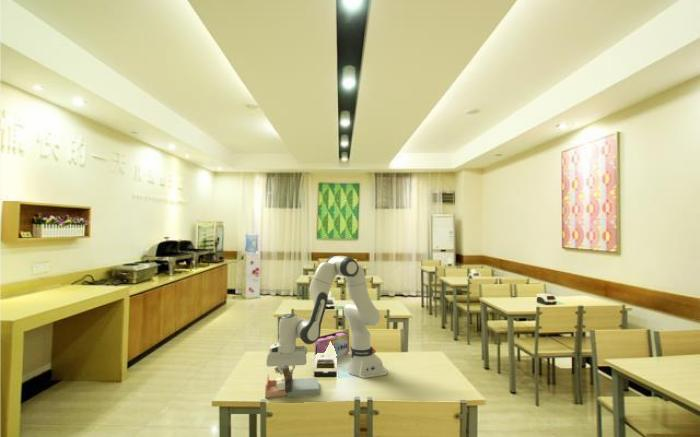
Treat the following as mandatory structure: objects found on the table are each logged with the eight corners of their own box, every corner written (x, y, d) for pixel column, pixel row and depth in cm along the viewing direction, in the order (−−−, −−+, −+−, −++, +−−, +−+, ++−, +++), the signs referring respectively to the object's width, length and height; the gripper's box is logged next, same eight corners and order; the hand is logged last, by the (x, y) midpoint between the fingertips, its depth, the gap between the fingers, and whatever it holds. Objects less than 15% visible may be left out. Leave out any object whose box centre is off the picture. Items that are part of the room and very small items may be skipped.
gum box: (320, 363, 212) (320, 341, 212) (312, 359, 218) (312, 338, 218) (348, 354, 228) (348, 333, 229) (340, 351, 234) (341, 331, 234)
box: (286, 384, 181) (286, 373, 181) (286, 396, 168) (286, 384, 169) (267, 385, 180) (267, 374, 180) (265, 398, 167) (265, 385, 167)
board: (317, 383, 184) (317, 377, 184) (319, 394, 171) (319, 388, 171) (287, 384, 181) (287, 379, 181) (286, 396, 168) (286, 390, 169)
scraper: (292, 375, 184) (288, 360, 184) (292, 391, 166) (288, 374, 166) (286, 377, 184) (283, 362, 183) (286, 393, 166) (281, 376, 166)
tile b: (285, 386, 173) (285, 380, 173) (285, 389, 169) (284, 382, 169) (277, 387, 172) (277, 381, 172) (277, 390, 168) (276, 384, 169)
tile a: (281, 377, 180) (276, 377, 180) (281, 380, 176) (275, 380, 176) (281, 385, 180) (275, 385, 179) (281, 388, 176) (275, 388, 176)
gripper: (307, 343, 180) (306, 370, 180) (267, 345, 177) (266, 372, 176) (307, 347, 174) (307, 375, 174) (266, 349, 171) (265, 377, 170)
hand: (286, 373), depth 175 cm, fingers closed on scraper, 4 cm apart
